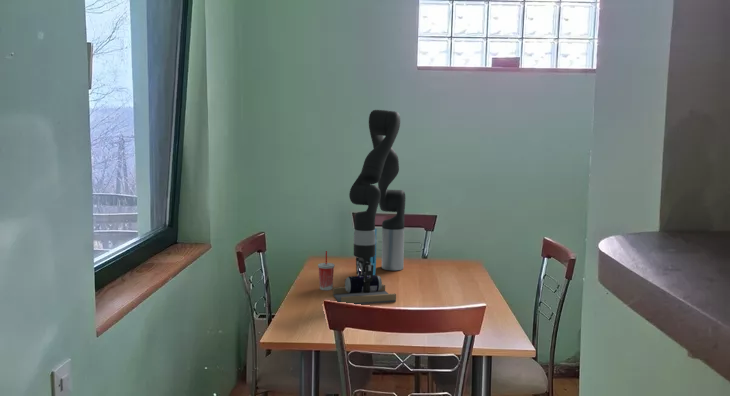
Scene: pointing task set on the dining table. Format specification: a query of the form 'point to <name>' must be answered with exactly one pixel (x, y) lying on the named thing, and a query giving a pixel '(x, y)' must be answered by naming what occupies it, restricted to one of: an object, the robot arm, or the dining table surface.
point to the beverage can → (356, 284)
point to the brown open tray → (363, 296)
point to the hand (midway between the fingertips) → (364, 290)
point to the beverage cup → (326, 275)
